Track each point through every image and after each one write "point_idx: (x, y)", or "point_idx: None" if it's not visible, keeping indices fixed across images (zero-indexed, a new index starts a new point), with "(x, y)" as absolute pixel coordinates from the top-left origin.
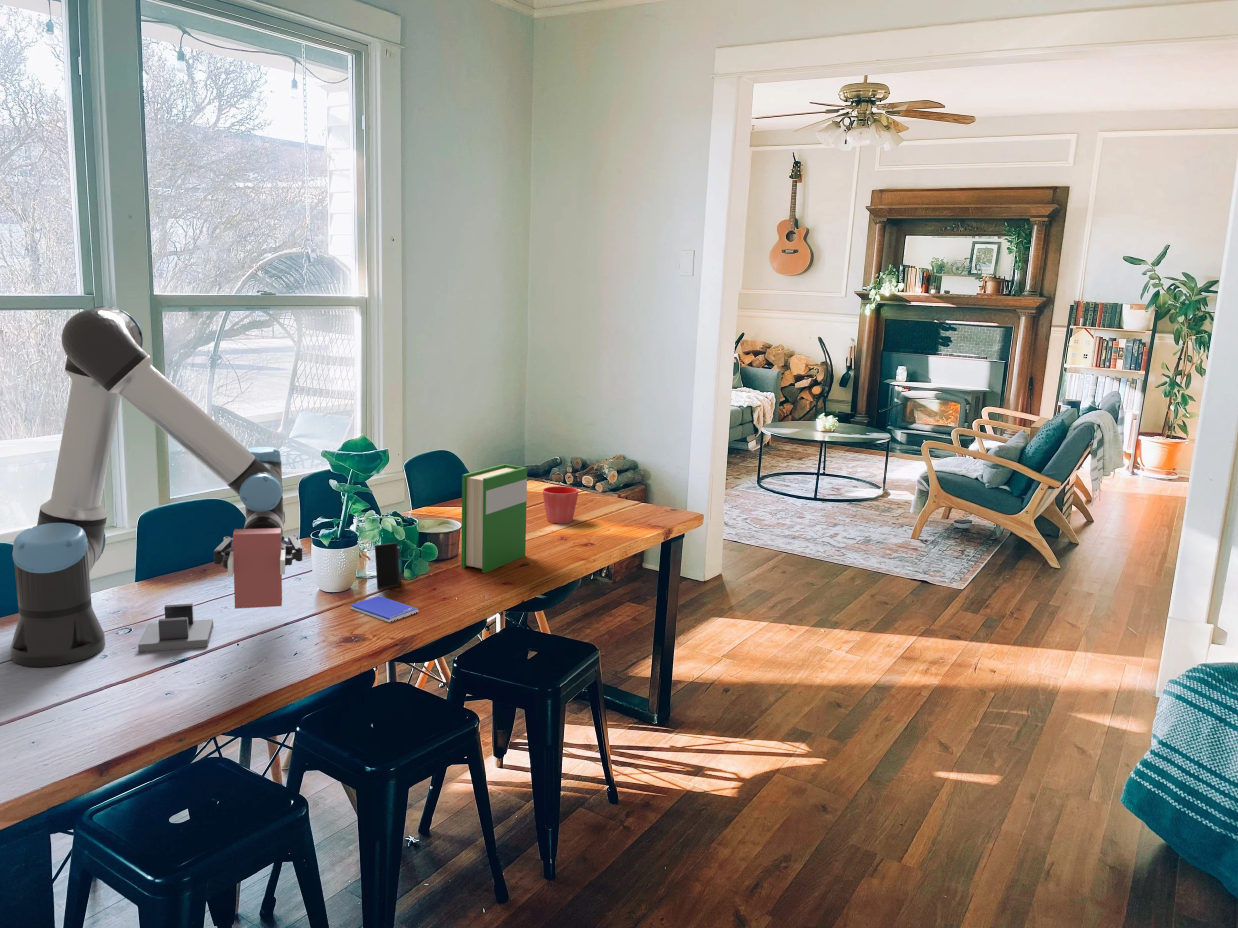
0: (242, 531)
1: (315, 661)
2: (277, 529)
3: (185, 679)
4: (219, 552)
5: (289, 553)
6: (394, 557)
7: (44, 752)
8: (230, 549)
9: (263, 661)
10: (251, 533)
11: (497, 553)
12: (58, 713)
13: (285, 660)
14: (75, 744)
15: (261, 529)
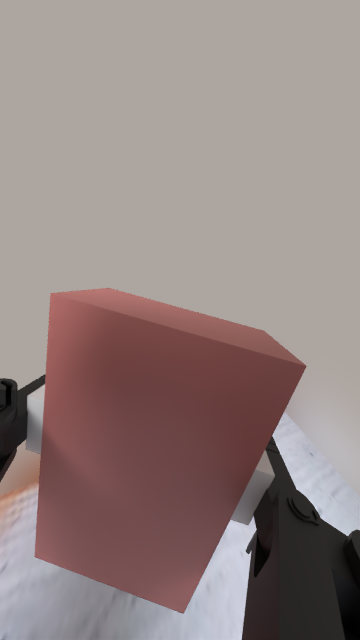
0: (242, 334)
1: (10, 543)
2: (87, 295)
3: (238, 573)
4: (348, 538)
5: (20, 398)
6: None
7: (290, 434)
8: (309, 563)
9: (90, 625)
10: (202, 315)
11: None
12: (342, 514)
13: (48, 597)
14: (276, 435)
15: (157, 317)
